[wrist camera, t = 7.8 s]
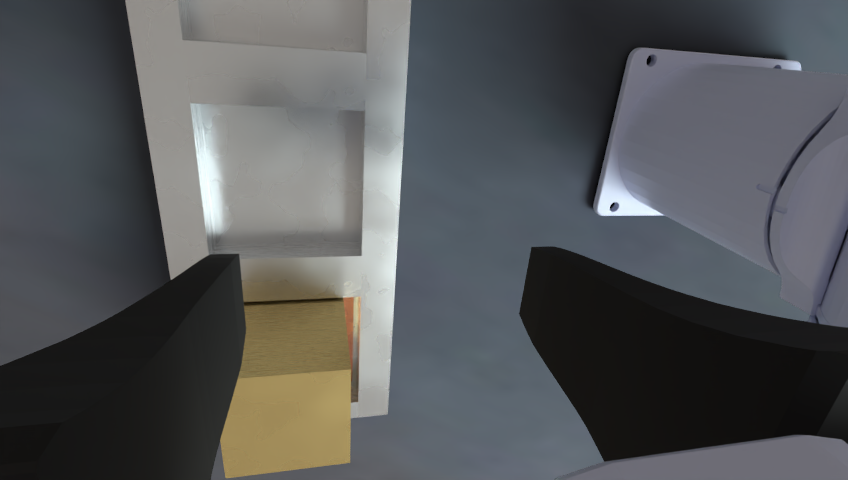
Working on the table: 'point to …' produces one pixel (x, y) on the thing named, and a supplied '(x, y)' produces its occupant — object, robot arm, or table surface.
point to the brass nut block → (290, 389)
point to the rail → (283, 151)
